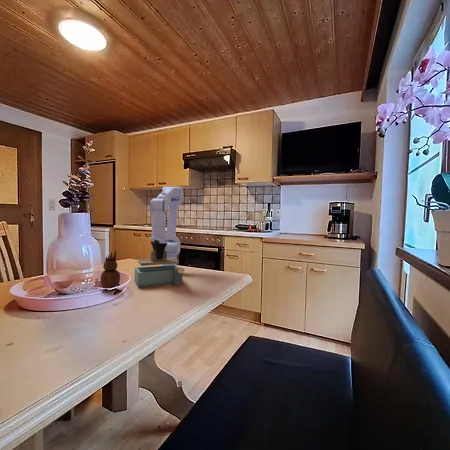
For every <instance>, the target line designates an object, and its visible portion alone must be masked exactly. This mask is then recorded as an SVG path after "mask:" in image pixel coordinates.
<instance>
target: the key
mask: <svg viewBox="0 0 450 450" xmlns="http://www.w3.org/2000/svg"><path fill="white" fill-rule="evenodd" d="M175 270H176V271H177V272H178V273H182V274H185V268H184V267H182V266H181V265H177V266H176V267H175Z"/></svg>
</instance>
